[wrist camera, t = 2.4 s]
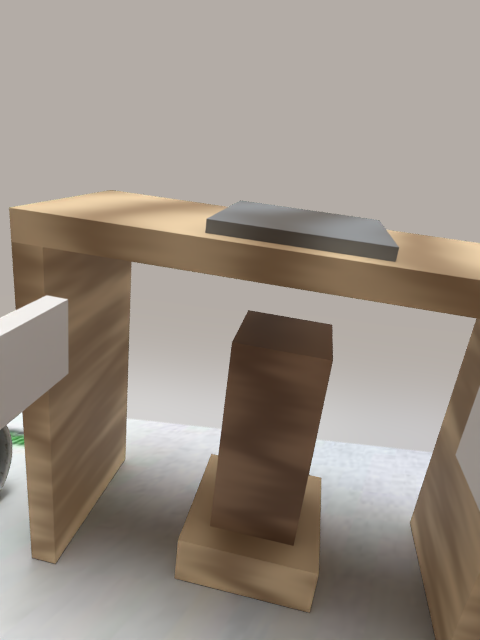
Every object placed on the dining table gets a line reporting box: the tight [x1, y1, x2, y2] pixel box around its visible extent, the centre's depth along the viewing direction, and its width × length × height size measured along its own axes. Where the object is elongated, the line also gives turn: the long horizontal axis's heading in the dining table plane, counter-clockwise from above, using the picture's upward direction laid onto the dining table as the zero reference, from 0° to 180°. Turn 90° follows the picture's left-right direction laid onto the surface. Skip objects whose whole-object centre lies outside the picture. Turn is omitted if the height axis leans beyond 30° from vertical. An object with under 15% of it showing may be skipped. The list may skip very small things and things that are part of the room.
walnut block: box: [210, 310, 333, 546], centre depth 27 cm, size 5×5×12 cm
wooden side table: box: [9, 190, 480, 640], centre depth 26 cm, size 25×10×21 cm, turn 80°
